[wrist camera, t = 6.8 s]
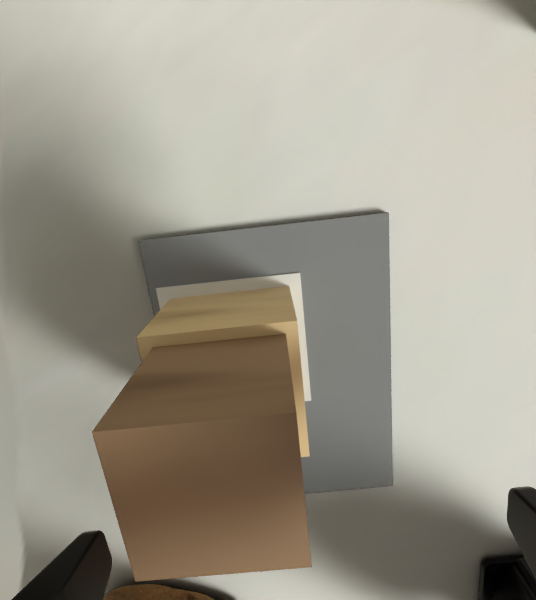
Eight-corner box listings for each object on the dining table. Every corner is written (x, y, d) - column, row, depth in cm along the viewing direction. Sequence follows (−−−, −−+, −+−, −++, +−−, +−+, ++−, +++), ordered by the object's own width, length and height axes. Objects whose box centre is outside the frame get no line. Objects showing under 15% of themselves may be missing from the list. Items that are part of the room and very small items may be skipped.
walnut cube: (297, 446, 15) (311, 566, 10) (176, 457, 15) (135, 581, 10) (286, 333, 14) (296, 412, 9) (152, 347, 14) (92, 432, 9)
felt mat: (390, 480, 22) (393, 487, 22) (195, 498, 23) (193, 505, 22) (386, 212, 18) (389, 212, 17) (140, 239, 18) (137, 241, 18)
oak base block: (299, 392, 20) (309, 456, 15) (190, 402, 20) (166, 469, 15) (289, 285, 18) (297, 320, 13) (169, 298, 18) (136, 337, 14)
